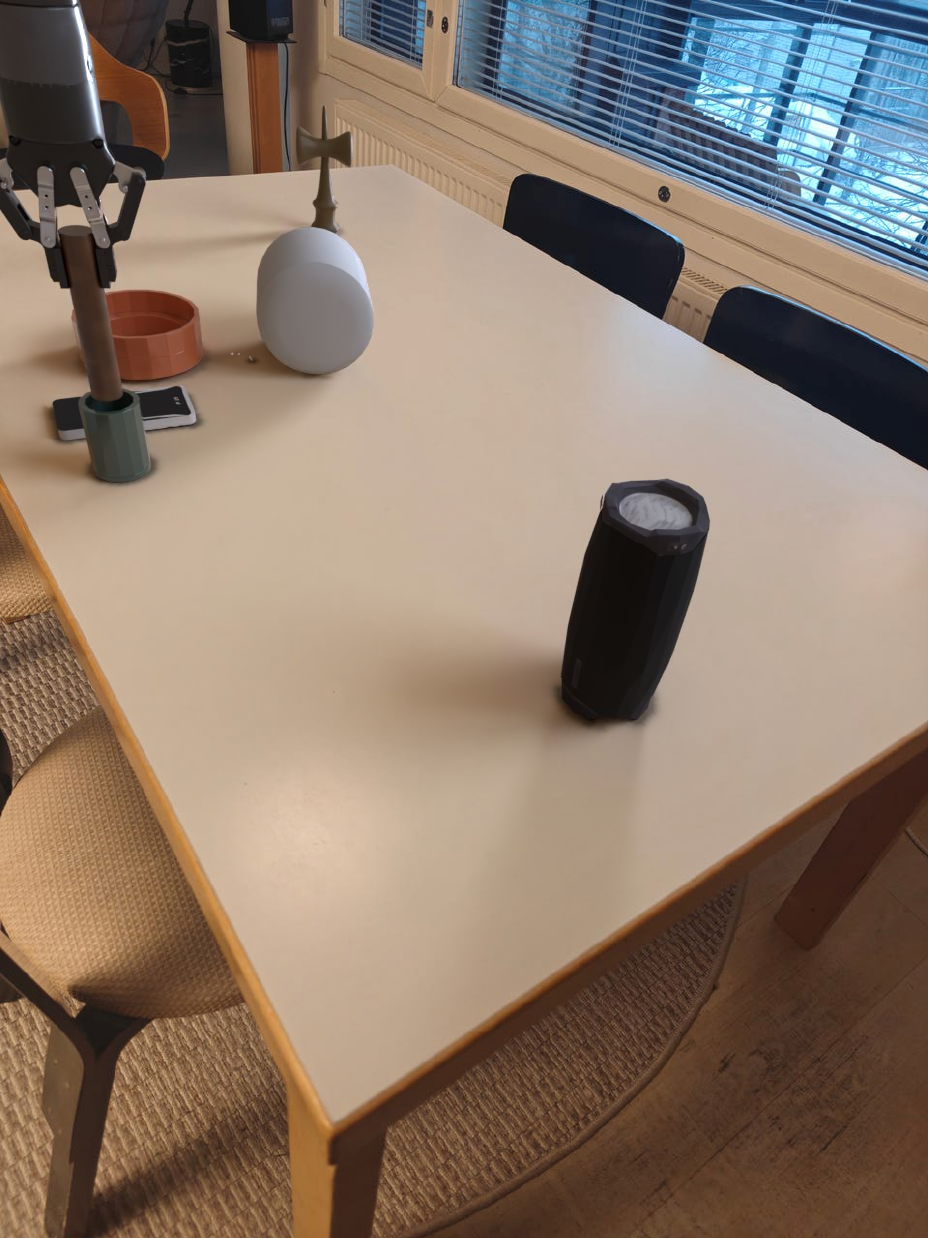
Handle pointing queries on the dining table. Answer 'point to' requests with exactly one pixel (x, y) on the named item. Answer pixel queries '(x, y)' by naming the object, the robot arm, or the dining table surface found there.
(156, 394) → the smartphone
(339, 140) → the kendama
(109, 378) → the stirring stick
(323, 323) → the white oval cylinder
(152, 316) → the bowl
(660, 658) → the portable speaker
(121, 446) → the holder
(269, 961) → the dining table surface
